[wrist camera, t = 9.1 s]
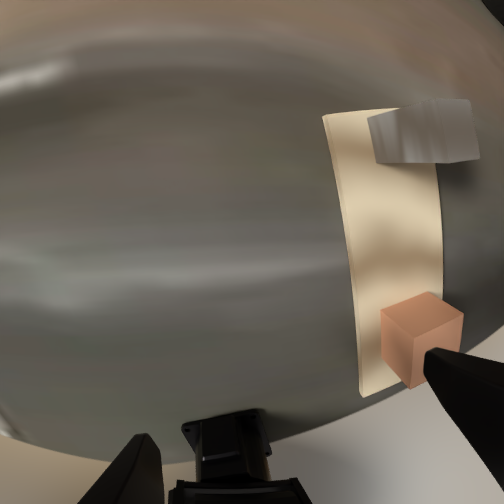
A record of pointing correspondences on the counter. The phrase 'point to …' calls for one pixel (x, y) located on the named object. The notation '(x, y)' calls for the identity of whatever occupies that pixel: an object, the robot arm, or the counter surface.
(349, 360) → the counter surface
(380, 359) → the strip
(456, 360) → the robot arm
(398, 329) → the block
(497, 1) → the high-heeled shoe
